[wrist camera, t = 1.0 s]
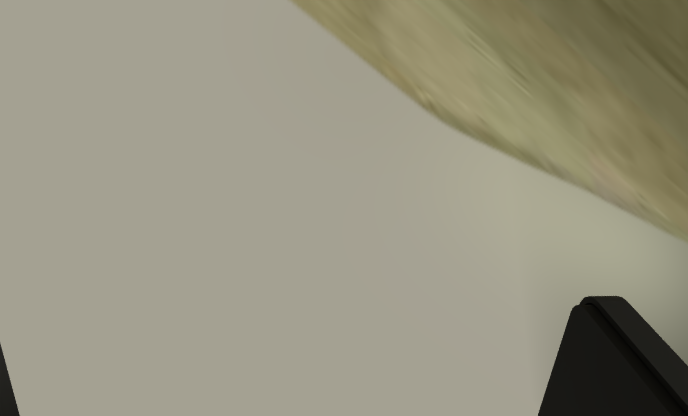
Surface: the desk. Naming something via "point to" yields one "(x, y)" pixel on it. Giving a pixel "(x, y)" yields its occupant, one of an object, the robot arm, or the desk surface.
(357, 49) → the desk surface
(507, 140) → the desk surface
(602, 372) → the robot arm
